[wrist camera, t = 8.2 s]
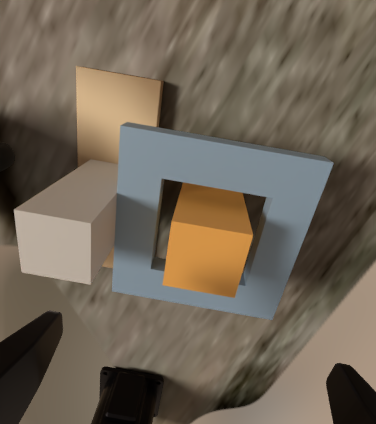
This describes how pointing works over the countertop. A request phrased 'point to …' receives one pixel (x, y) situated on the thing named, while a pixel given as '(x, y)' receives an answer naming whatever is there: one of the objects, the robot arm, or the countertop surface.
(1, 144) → the mug
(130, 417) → the robot arm
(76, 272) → the bracket
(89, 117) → the board
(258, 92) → the countertop surface
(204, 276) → the orange square post
